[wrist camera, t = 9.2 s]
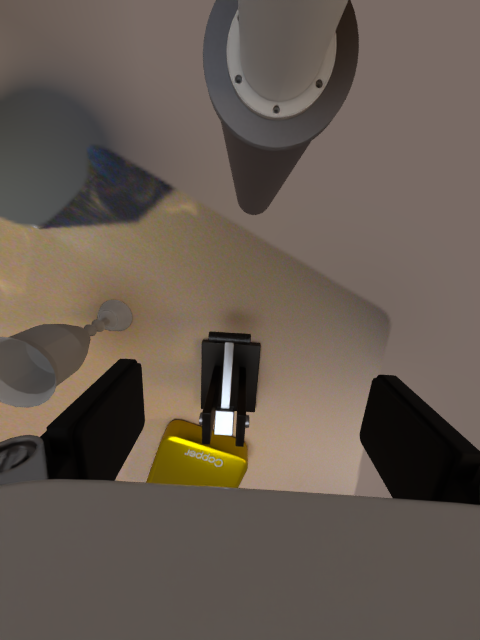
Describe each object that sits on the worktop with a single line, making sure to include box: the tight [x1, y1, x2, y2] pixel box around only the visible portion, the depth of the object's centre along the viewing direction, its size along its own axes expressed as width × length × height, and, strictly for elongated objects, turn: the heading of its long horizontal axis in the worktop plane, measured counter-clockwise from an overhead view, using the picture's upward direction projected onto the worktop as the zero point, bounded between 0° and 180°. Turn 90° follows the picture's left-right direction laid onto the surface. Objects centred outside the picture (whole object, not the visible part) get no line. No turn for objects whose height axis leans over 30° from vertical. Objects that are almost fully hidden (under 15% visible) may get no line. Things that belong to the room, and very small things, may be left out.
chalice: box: [0, 300, 132, 408], centre depth 31 cm, size 7×7×18 cm
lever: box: [208, 332, 251, 436], centre depth 32 cm, size 12×5×2 cm, turn 178°
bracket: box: [199, 340, 261, 447], centre depth 36 cm, size 12×9×13 cm
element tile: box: [146, 420, 248, 488], centre depth 45 cm, size 15×15×5 cm
